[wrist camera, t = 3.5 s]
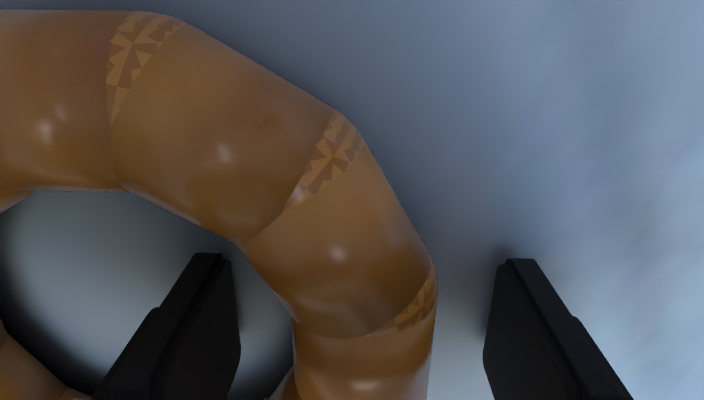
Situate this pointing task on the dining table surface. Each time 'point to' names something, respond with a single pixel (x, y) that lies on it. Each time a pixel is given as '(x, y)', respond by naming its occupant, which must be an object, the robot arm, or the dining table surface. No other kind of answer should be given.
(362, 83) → the dining table surface
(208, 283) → the robot arm
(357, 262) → the ring
